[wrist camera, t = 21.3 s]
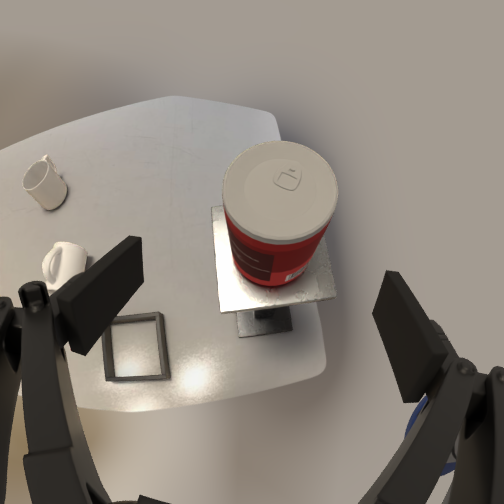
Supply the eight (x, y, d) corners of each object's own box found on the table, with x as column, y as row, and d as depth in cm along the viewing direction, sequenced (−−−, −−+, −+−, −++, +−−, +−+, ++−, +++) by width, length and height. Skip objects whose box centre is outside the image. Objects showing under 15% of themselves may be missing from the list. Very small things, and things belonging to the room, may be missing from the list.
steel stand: (295, 332, 56) (337, 296, 28) (236, 340, 55) (220, 312, 27) (286, 277, 60) (314, 195, 32) (230, 284, 59) (210, 206, 31)
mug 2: (94, 256, 61) (67, 233, 50) (86, 301, 57) (56, 285, 46) (66, 255, 61) (38, 233, 50) (58, 297, 58) (26, 282, 46)
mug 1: (65, 209, 66) (43, 186, 56) (40, 214, 66) (18, 193, 55) (73, 171, 70) (55, 146, 60) (49, 177, 70) (30, 155, 60)
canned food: (315, 220, 31) (342, 151, 20) (304, 296, 28) (333, 252, 17) (242, 206, 31) (237, 131, 21) (223, 279, 28) (206, 227, 18)
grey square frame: (163, 314, 57) (158, 311, 54) (170, 378, 52) (166, 378, 49) (106, 320, 56) (100, 317, 53) (112, 381, 51) (105, 381, 49)
